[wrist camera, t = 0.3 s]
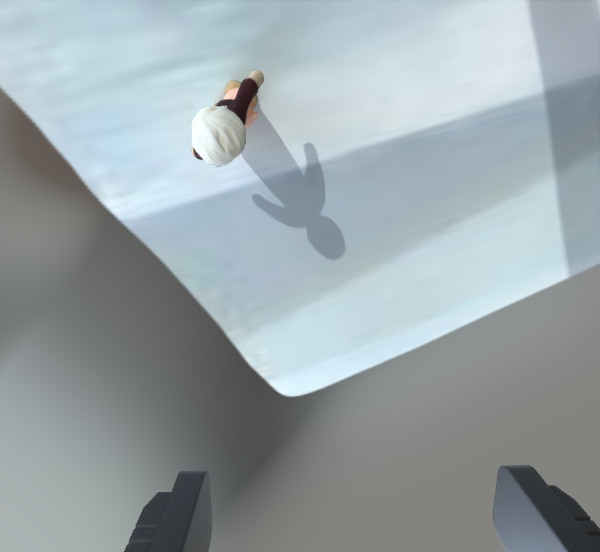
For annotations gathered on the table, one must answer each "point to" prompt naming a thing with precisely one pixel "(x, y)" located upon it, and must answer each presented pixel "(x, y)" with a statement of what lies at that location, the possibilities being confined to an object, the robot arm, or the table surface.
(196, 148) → the grandmother figurine
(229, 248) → the table surface
